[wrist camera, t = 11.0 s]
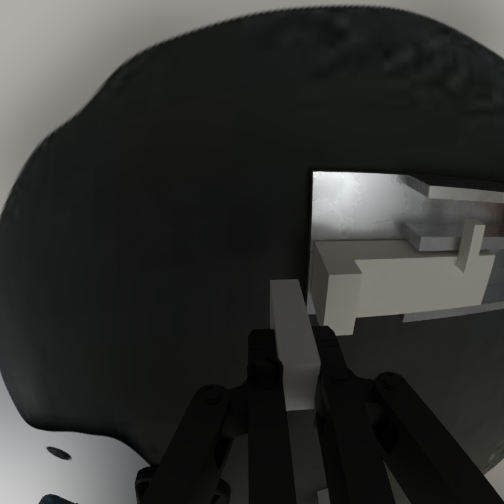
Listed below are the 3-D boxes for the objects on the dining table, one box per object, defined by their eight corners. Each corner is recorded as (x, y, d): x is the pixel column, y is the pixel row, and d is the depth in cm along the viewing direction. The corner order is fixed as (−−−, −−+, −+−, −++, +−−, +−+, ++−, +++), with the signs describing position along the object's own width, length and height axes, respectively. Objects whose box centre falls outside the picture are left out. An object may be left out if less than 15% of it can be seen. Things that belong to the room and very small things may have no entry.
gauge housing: (304, 307, 26) (318, 367, 19) (310, 168, 21) (335, 195, 15) (527, 287, 25) (564, 322, 19) (552, 190, 21) (599, 214, 15)
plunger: (311, 296, 24) (321, 336, 20) (316, 202, 21) (332, 227, 17) (463, 286, 24) (491, 316, 19) (481, 207, 21) (518, 229, 16)
